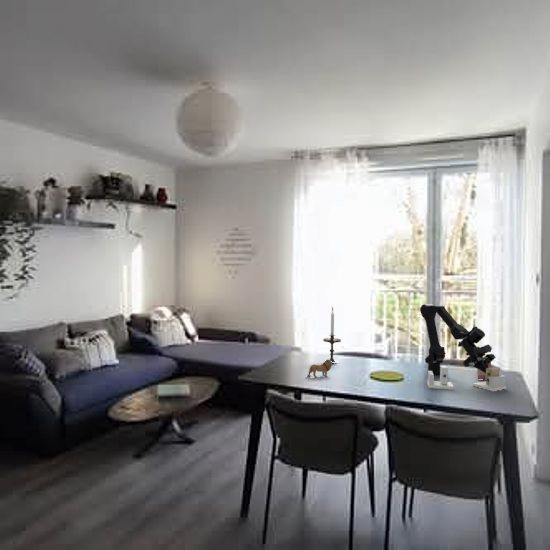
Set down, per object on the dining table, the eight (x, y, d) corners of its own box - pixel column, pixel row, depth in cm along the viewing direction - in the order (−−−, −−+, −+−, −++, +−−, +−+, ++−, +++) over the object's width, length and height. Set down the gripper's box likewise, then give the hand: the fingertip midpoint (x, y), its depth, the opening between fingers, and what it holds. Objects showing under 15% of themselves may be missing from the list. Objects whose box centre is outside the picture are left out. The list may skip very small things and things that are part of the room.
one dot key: (446, 381, 243) (446, 365, 243) (447, 384, 237) (448, 368, 237) (439, 381, 244) (440, 365, 244) (441, 383, 238) (441, 367, 238)
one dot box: (450, 384, 245) (451, 372, 245) (453, 389, 235) (453, 376, 235) (427, 383, 247) (427, 370, 247) (428, 387, 238) (429, 374, 237)
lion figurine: (329, 374, 264) (329, 358, 264) (333, 376, 259) (334, 360, 259) (304, 376, 258) (305, 359, 258) (309, 378, 253) (309, 361, 253)
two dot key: (485, 384, 238) (485, 368, 238) (493, 383, 241) (494, 367, 241) (490, 385, 235) (491, 369, 235) (499, 384, 238) (499, 368, 238)
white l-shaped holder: (472, 386, 242) (472, 373, 242) (485, 384, 247) (485, 371, 247) (493, 391, 232) (493, 378, 232) (506, 389, 237) (506, 376, 237)
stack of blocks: (476, 372, 277) (477, 351, 276) (488, 373, 274) (489, 352, 274) (477, 380, 257) (478, 357, 257) (490, 381, 254) (491, 358, 254)
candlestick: (320, 361, 302) (321, 305, 302) (336, 360, 305) (337, 305, 304) (326, 364, 292) (327, 306, 291) (343, 364, 294) (344, 306, 294)
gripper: (468, 340, 240) (487, 366, 230) (492, 338, 249) (511, 363, 240) (455, 353, 247) (473, 379, 237) (479, 351, 256) (497, 375, 246)
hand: (489, 374), depth 240 cm, fingers closed
